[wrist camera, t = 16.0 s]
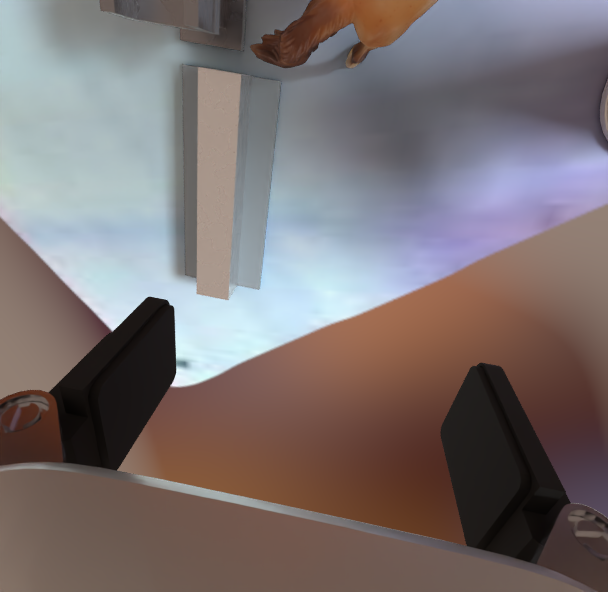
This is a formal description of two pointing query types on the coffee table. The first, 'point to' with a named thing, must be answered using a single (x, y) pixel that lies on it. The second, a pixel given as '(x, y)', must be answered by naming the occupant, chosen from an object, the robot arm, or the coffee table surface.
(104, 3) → the post
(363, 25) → the horse figurine
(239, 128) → the rail
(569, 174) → the coffee table surface
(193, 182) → the mat
